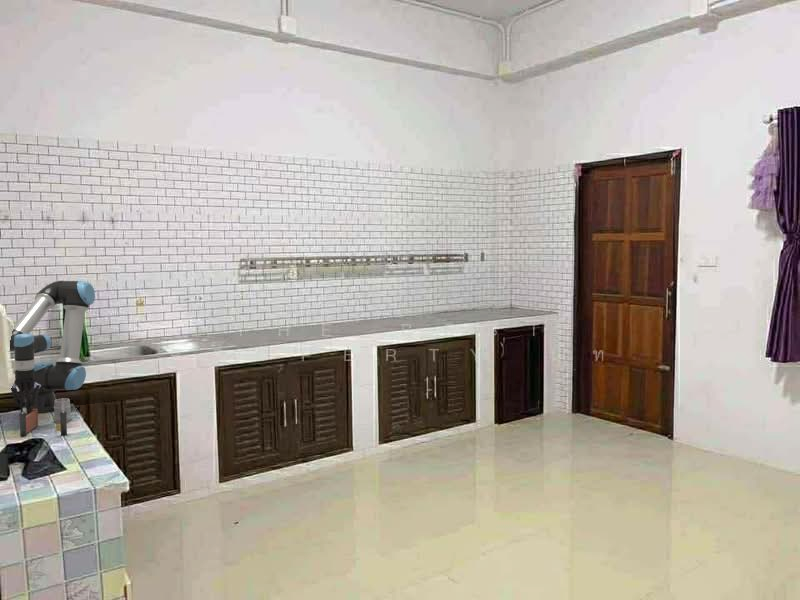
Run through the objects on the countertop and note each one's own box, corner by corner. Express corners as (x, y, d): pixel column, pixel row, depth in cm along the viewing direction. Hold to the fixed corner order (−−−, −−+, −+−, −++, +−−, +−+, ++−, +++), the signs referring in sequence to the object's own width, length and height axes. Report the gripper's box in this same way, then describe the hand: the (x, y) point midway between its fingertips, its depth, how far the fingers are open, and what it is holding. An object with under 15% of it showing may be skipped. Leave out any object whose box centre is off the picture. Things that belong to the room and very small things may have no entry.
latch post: (58, 434, 285) (58, 410, 284) (68, 433, 285) (67, 410, 284) (56, 436, 281) (55, 412, 280) (65, 436, 282) (65, 412, 281)
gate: (26, 433, 282) (26, 416, 282) (22, 434, 282) (22, 416, 281) (38, 425, 295) (37, 408, 295) (34, 425, 295) (33, 408, 294)
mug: (71, 417, 310) (70, 392, 309) (72, 424, 300) (72, 398, 299) (53, 419, 306) (52, 394, 305) (53, 426, 296) (53, 400, 295)
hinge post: (21, 435, 282) (20, 411, 281) (28, 435, 282) (27, 411, 281) (18, 437, 279) (17, 412, 278) (25, 436, 280) (24, 412, 279)
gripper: (5, 370, 284) (6, 424, 286) (36, 370, 285) (37, 423, 288) (13, 367, 291) (14, 419, 293) (43, 367, 293) (45, 419, 295)
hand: (26, 421), depth 291 cm, fingers closed
